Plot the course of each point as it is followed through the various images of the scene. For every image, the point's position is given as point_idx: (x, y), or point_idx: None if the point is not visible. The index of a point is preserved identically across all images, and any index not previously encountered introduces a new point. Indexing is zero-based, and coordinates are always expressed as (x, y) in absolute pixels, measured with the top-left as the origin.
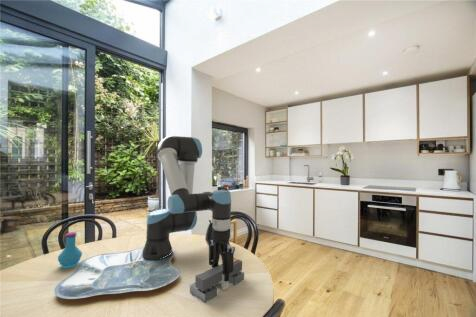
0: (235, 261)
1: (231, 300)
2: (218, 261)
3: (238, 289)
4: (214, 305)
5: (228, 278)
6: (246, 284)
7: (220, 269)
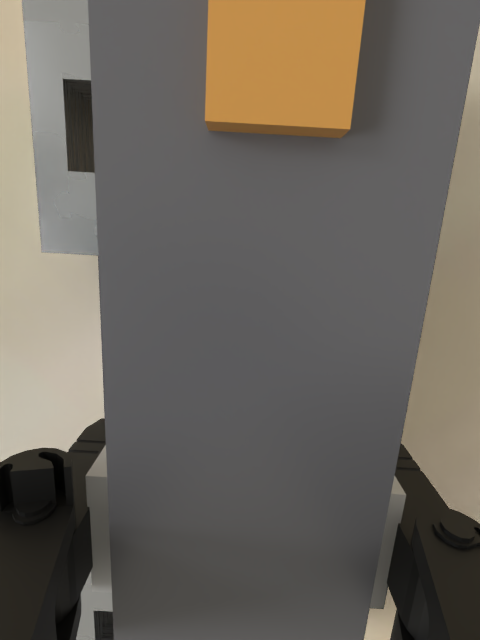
0: (362, 18)
1: (471, 477)
2: (40, 619)
3: (436, 301)
4: (386, 595)
5: (410, 466)
6: (468, 146)
7: (291, 635)
